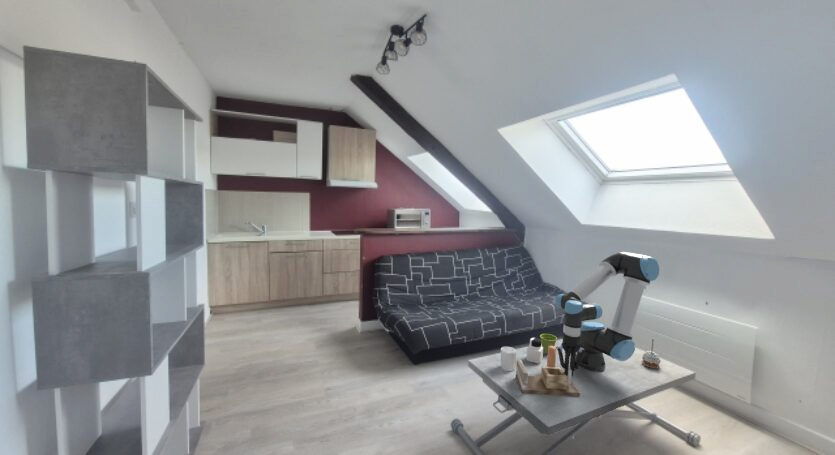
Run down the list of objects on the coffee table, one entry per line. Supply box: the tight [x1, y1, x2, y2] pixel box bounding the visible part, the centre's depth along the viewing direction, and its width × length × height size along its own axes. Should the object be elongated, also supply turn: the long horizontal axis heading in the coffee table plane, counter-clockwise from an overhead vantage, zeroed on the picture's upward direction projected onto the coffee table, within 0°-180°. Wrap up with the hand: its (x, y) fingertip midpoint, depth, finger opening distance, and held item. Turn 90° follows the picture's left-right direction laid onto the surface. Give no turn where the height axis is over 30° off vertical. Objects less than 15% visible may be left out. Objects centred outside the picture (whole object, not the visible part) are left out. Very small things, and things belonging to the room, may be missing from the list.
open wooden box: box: [540, 365, 567, 390], centre depth 162 cm, size 9×9×6 cm
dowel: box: [546, 346, 557, 367], centre depth 176 cm, size 4×4×13 cm
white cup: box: [500, 346, 517, 372], centre depth 179 cm, size 8×8×10 cm
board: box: [515, 359, 581, 397], centre depth 162 cm, size 26×13×10 cm, turn 87°
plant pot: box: [539, 333, 558, 354], centre depth 200 cm, size 9×9×9 cm
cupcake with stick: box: [641, 338, 662, 369], centre depth 186 cm, size 8×8×15 cm
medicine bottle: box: [526, 337, 544, 365], centre depth 189 cm, size 7×7×12 cm
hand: (568, 381), depth 161 cm, fingers closed
